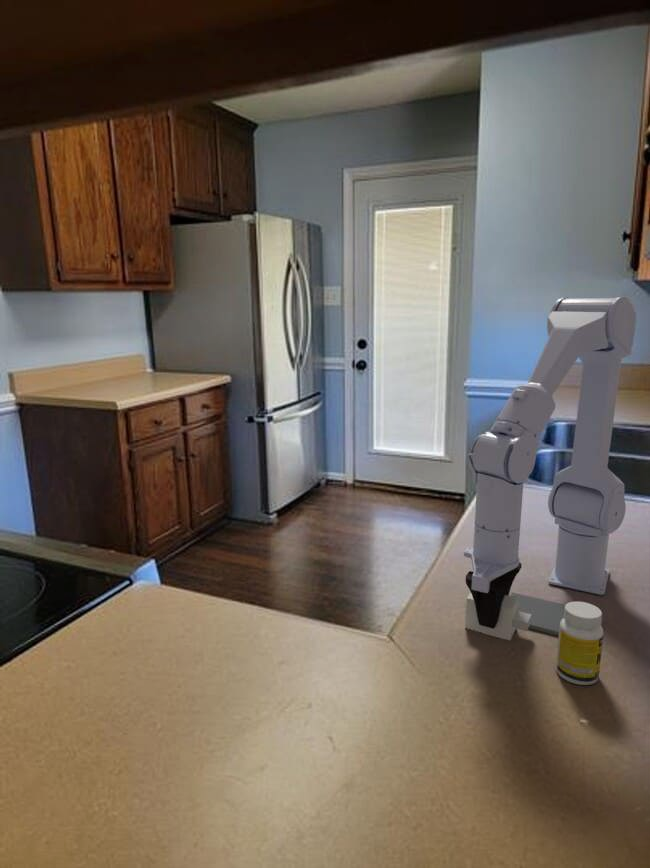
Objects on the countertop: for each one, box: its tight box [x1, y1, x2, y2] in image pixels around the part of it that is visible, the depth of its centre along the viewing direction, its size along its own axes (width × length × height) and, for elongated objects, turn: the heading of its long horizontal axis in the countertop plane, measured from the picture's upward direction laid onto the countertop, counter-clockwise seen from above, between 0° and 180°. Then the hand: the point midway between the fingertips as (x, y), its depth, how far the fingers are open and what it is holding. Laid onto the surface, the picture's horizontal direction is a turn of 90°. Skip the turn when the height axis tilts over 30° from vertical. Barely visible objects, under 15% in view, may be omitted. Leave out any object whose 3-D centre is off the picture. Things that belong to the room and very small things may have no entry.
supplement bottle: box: [555, 601, 604, 686], centre depth 68 cm, size 5×5×8 cm
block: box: [464, 592, 531, 641], centre depth 78 cm, size 4×8×4 cm, turn 60°
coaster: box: [510, 592, 566, 637], centre depth 82 cm, size 8×8×1 cm
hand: (491, 618), depth 79 cm, fingers closed on block, 3 cm apart
